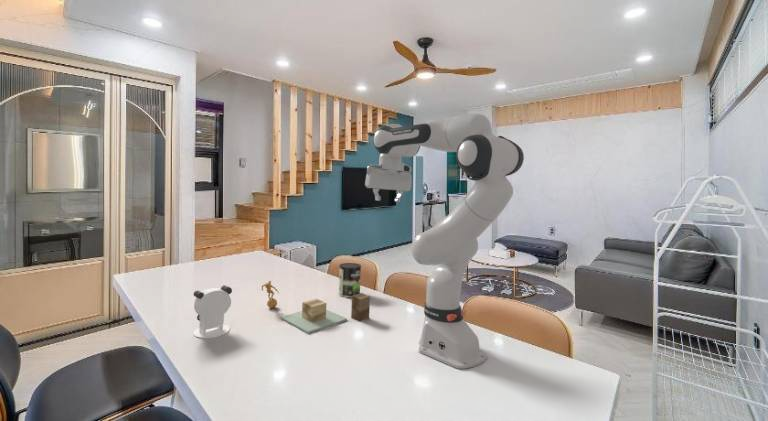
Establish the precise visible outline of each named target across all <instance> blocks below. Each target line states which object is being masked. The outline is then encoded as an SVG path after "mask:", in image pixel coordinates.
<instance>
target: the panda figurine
mask: <svg viewBox="0 0 768 421" xmlns="http://www.w3.org/2000/svg"><path fill="white" fill-rule="evenodd" d="M232 292H233V290H232V287H230V286H228V285H222V286H221V287H220V288H219V287H218V288H217V287H213V288H208V289H204V290H201V291H200V290H195V291H194V292H193V296H194V297H196V298H195V300H194V302H193V303H194V304H193V307H194V308H193V309H194V311H195V313H196V314H197V316H196V319H197V320H198V322H199V327H198V328H196V329H195V330H194V331H193V336H194V337H195V338H197V339H203V340H205V339H214V338H219V337H222V336H225V335H226V334H228V333H229V332H230V331H231V328H230V325H227V324H224V321H225V320H224V319H225V314H226V313H227V312H228V311H229V309H230V307H231V305H232V299H231V296H230V295H231V294H232Z"/></svg>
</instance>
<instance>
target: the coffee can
mask: <svg viewBox="0 0 768 421" xmlns="http://www.w3.org/2000/svg"><path fill="white" fill-rule="evenodd" d="M361 268H362V264H360V263H355V262H346V263H340V264H339V274H338V279H339V280H338V281H339V282H338V295H339V297H343V298H352V296H353V295H357V294H361V275H362V274H361V270H362V269H361Z"/></svg>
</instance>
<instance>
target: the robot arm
mask: <svg viewBox="0 0 768 421" xmlns="http://www.w3.org/2000/svg"><path fill="white" fill-rule="evenodd" d="M492 128H493V127H492V124H491V121H490V119H489V118H488V117H487V116H485V115H484V114H481V113H467V114H466V113H465V114H459V115H454V116H451V117H445V118H442V119H438V120H433V121H428V122H424V123H420V124H419V123H418V124H412V125H406V126H402V125H401V124H399V123H388V124H383V125H381V126H380V127H379V128H378V129H376V131H375V132H374V134H373V138H372V142H373V146H374V148H375V149H376V151H377V152H378V153H379V154H380V155H379V157H378V158H379V159H378V164H374V163H370V164H368V166H367V167H366V175H365V181H364V186H365V187H366V189H372V192H373V194H374V198H375V199H374V200H375V201H378V202H379V201H381V200H382V198H381V197H382V196H381V195H380V194H379V191H380V190H388V191H397V196H396V197H394V202H395V203H400V202H401V198H402V196H403V194H404V192H409V191H411V189H412V184H413V183H412V182H413V181H412V179H413V178H412V174H411V173H412V167H411V166H409V165H408V164H406V163H404V162H402V157H405V158H410V157H414V156H416V155H417V154H418V153H419V151H420V150H421V149H420V148H421V147H424V148H428V149H432V150H436V151H441V152H447V153H456V160H457V163H458V166H459V167H460V169H461V170H462V171H463V172H464V173H465V176H466V178H467V179H468V180H470V181H474V183H473V186H472V187H471V188H470V190H469V191H468V192H467V193H466V194H465V195H464V197H463V198H461V200H460V201H459V203H457V205H456V206H455V207H454V209H453V210H452V211H451V212H450V213H449V214H447V215H446V216H445V217H444V218H442V219H441V220H439V221H438V222H437V223H436V224H434V225H433V226H432V227H430V228H429V229H427V230H425V231H424V232H421V233H419V234H417V235H415V237H414V238H413V239H412V243H411V247H410V249H411V254H412V257H413V259H414V260H415V261H416V263H418V264H420V265H425V266H431V267H432V266H433V267H434V266H436V268H435V270H434V271H433V272H432V273H431V275H430V276H429V277H428V279H427V281H426V291H425V292H426V293H425V294H426V296H425V301H424V307H423V313H424V315H425V316H424V319H423V320H424V321H423V326H422V331H421V335H420V339H419V341H418V344H419V347H418V352H419V353H421V354H423V355H425V356H427V357H430V358H432V359H434V360H436V361H439V362H441V363H443V364H446V365H449V366H450V367H453V368H454V369H455V368H456V369H457V370H458V369H460V370H461V369H463V370H464V369H470V368H473V367H476V366H479V365H481V364H483V363H484V362H485V361H486V360H487V353H486V352H485V351H483V350H481V349H480V341H479V337H478V336H477V334H476V333H475V332H474V330H472V328H471V327H470V325H469V324H468V323H467V321H465V320H464V316H465V315H467V314H466V313H467V311H466V310H465V311H463V310H462V306H461V305H460V304H461V290H462V283H463V280H464V279H463V278H464V276H465V274H466V273H465V272H466V270H467V268H468V266H469V263H470V262H471V260H472V259H473V258H474V257H475V255H476V254H477V252H478V249H479V241H478V238H479V237H480V236H482V234H483V233H484V232H485V231H486V229H488V228H489V227H490V226H491V225H492V224H493V222H495V220H496V219H498V217H499V216H500V215H501V213H502V212H503V211H504V210H505V208H506V207H507V205H508V204H509V202H510V201H511V199H512V197H513V196H514V195H513V194H514V187H513V184H512V183H511V181H510V180H509V179H508V178H507V177H508V176H512V175H513V174H515V173H517V172H518V171H519V170H520V169H521V168H522V166H523V163H524V160H525V156H524V152H523V149H522V148H521V147H520V146H519V145H518V144H517V143H515V141H512V140H510V139H509V138H507V137H504V136H503V135H498V136H496V135H494V133H493V132H492V131H493V130H492Z"/></svg>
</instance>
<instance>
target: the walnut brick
mask: <svg viewBox="0 0 768 421" xmlns="http://www.w3.org/2000/svg"><path fill="white" fill-rule="evenodd" d="M370 302H371V296H370V295H368V294H364V293H361V292H360V294H357V295H353V296H352V297H351V310H350V311H351V312H350V314H351V315H350V316H351V319H352V320H355V321H356V322H359V323H360V322H363V321H368V320H369V319H370V304H371V303H370Z"/></svg>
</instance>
